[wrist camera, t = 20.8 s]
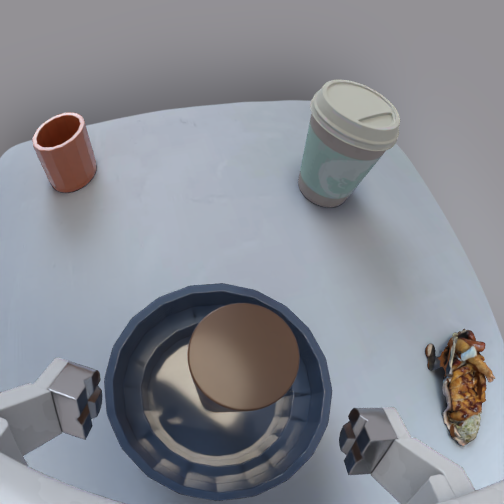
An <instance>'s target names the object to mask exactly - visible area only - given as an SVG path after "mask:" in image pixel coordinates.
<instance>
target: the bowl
mask: <svg viewBox="0 0 504 504" xmlns="http://www.w3.org/2000/svg"><path fill="white" fill-rule="evenodd" d="M235 303H249V304H255V305H259V306H262V307H264V308H267V309H269V310H271V311H272V312H274V313H275V314H277V315H278V316H279V317H280V318H282V319H283V320H284V321H285V322H286V323H287V325H288V326H289V327H290V329H291V330H292V332H293V334H294V336H295V338H296V341H297V344H298V348H299V355H300V358H299V369H298V373H297V376H296V378H295V381H294V383H293V385H292V386H291V388H290V389H289V390H288V392H287V393H286V394H285V395H284V396H283V397H282V398H281V399H280V400H278V401H277V402H275V403H274V404H272V405H270V406H268V407H265V408H263V409H259V410H255V411H243V412H220V413H216V412H211V411H209V410H207V409H206V408H205V407H204V406H203V405H202V403H201V401H200V399H199V396H198V393H197V390H196V388H195V385H194V382H193V379H192V376H191V373H190V370H189V366H188V357H187V353H188V345H189V341H190V338H191V336H192V333H193V332H194V330H195V328H196V327H197V325H198V324H199V323H200V321H201V320H202V319H203V318H204V317H205V316H207V315H208V314H209V313H211V312H212V311H214V310H216V309H218V308H220V307H222V306H226V305H229V304H235ZM104 379H105V380H104V386H105V399H106V411H107V416H108V419H109V421H110V423H111V426H112V428H113V430H114V433H115V435H116V437H117V439H118V442H119V444H120V446H121V447H122V449H123V450H124V452H125V453H126V454H127V455H128V456H129V457H130V458H131V459H132V461H133V462H134V463H135V464H136V465H137V466H138V467H139V468H140V469H141V470H142V471H143V472H144V473H145V474H146V475H147V476H148V477H150V478H152V479H153V480H155V481H157V482H159V483H160V484H162V485H164V486H166V487H168V488H169V489H171V490H173V491H175V492H177V493H179V494H182V495H187V496H192V497H197V498H202V499H208V500H214V501H223V500H232V499H239V498H246V497H253V496H256V495H259V494H261V493H263V492H265V491H267V490H269V489H271V488H273V487H275V486H277V485H279V484H281V483H283V482H285V481H287V480H288V479H290V478H291V477H292V476H293V475H294V474H295V473H296V472H297V471H298V470H299V469H300V468H301V467H302V466H303V465H304V464H305V463H306V462H307V461H308V460H309V459H310V458H311V457H312V455H313V454H314V452H315V450H316V448H317V446H318V444H319V442H320V440H321V438H322V436H323V434H324V432H325V430H326V427H327V425H328V421H329V413H330V406H331V397H332V387H331V382H330V377H329V372H328V367H327V362H326V359H325V356H324V354H323V352H322V351H321V349H320V347H319V345H318V343H317V342H316V340H315V338H314V336H313V334H312V333H311V331H310V330H309V328H308V327H307V326H306V325H305V324H304V323H303V322H302V321H301V320H300V319H299V318H298V317H297V316H296V315H295V314H294V313H293V312H292V311H291V310H290V309H289V308H287V307H286V306H285V305H283V304H281V303H279V302H277V301H275V300H273V299H272V298H270V297H268V296H266V295H264V294H262V293H260V292H258V291H256V290H252V289H248V288H243V287H238V286H233V285H228V284H223V283H220V284H207V285H193V286H187V287H185V288H182V289H180V290H177V291H174V292H172V293H169V294H166V295H164V296H161V297H159V298H157V299H156V300H154V301H153V302H152V303H151V304H149V305H148V306H147V307H146V308H144V309H143V310H142V311H140V312H139V313H138V314H137V315H135V316H134V317H133V318H132V319H131V320H130V322H129V323H128V325H127V326H126V328H125V329H124V331H123V332H122V334H121V335H120V337H119V338H118V340H117V341H116V343H115V344H114V346H113V348H112V352H111V355H110V359H109V363H108V367H107V371H106V375H105V378H104Z"/></svg>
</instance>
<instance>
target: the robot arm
mask: <svg viewBox="0 0 504 504" xmlns="http://www.w3.org/2000/svg"><path fill="white" fill-rule="evenodd" d="M99 382H100V373H99V371H98V370H95V369H92V368H89V367H86V366H83V365H80V364H77V363H74V362H70V361H67V360H65V359H62V358H59V357H57V358H55V359H54V360H53V361H52V362H51V363H50V364H49V366H48V367H47V368H46V369H45V370H44V372H43V373H42V374H41V375H40V376H39V378H38V379H37V380H36V381H35V383H34V384H31V383H28V384H25V385H22V386H19V387H16V388H13V389H10V390H7V391H3V392H0V504H126V503H122V502H119V501H115V500H112V499H109V498H106V497H102V496H99V495H96V494H93V493H91V492H88V491H85V490H82V489H79V488H77V487H74V486H71V485H69V484H66V483H64V482H61V481H59V480H57V479H54V478H52V477H50V476H47V475H45V474H43V473H41V472H39V471H36V470H34V469H32V468H30V467H29V466H28V465H27V463H26V461H25V459H24V457H23V456H24V455H26V454H27V453H29V452H31V451H33V450H34V449H36V448H38V447H39V446H41V445H43V444H45V443H46V442H48V441H50V440H51V439H53V438H55V437H56V436H58V435H60V434H61V433H62V432H64V433H67V434H69V435H72V436H75V437H78V438H81V439H85V440H86V438H87V436H88V434H89V432H90V430H91V428H92V421H91V419H93V418H95V417H97V416H98V414H99V411H100V408H101V404H102V390H101V389H100V388H99V386H98V384H99ZM348 417H349V420H350V421H349V422H348V423H346V424H345V425H343V428H342V430H341V432H340V437H339V445H340V449H341V451H342V452H343V453H344V454H346V455H347V456H346V458H345V459H344V463H345V466H346V469H347V472H348V475H359V474H371V476H372V477H373V478H374V479H375V480H376V481H377V482H378V483H379V484H380V485H382V486H383V487H384V488H385V489H386V490H387V491H388V492H389V493H390V494H391V495H392V496H393V497H394V498H395V499H396V500H397V501H398V502H399V503H400V504H504V479H503V480H501V481H499V482H496V483H494V484H491V485H489V486H486V487H484V488H481V489H479V490H475V488H474V487H473V485H472V483H471V481H470V480H469V478H468V476H467V474H466V473H465V471H464V469H463V467H461V466H459V465H458V464H456V463H454V462H453V461H451V460H450V459H448V458H446V457H445V456H443V455H442V454H440V453H438V452H437V451H435V450H434V449H432V448H431V447H429V446H427V445H426V444H424V443H423V442H421V441H420V440H418V439H417V438H411V436H410V434H409V432H408V430H407V428H406V426H405V424H404V423H403V421H402V419H401V417H400V415H399V413H398V412H397V410H396V409H395V408H394V407H381V408H353V409H352V410H351V412H350V414H349V416H348Z"/></svg>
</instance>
